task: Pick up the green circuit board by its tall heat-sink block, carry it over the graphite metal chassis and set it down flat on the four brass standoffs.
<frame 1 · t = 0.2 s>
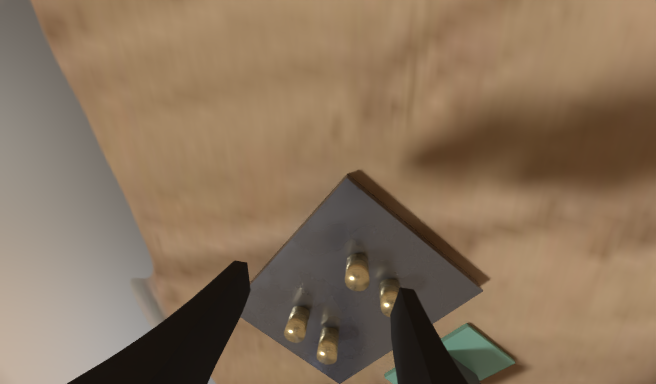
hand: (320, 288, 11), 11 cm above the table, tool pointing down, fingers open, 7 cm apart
chassis: (343, 291, 24), on the table
board: (443, 363, 27), on the table
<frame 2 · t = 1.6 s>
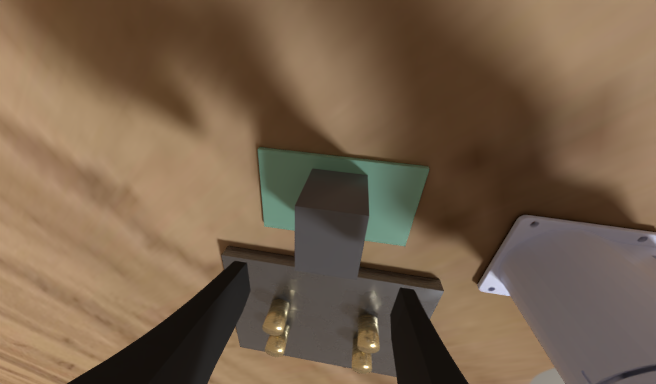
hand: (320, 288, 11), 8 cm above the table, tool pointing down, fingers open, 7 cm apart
chassis: (324, 313, 26), on the table
board: (337, 195, 19), on the table
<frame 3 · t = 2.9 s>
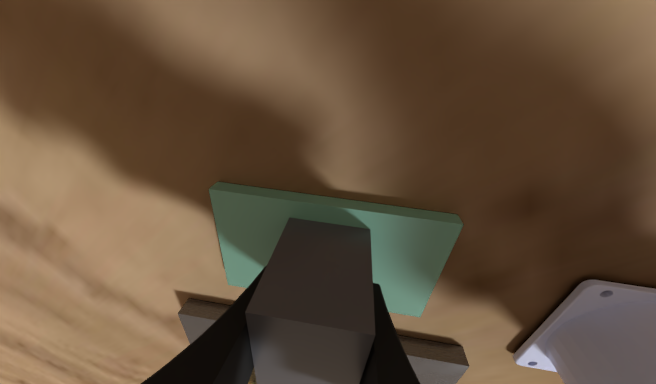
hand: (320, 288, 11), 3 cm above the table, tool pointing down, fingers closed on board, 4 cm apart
chassis: (314, 373, 21), on the table
board: (327, 249, 13), on the table, touching gripper
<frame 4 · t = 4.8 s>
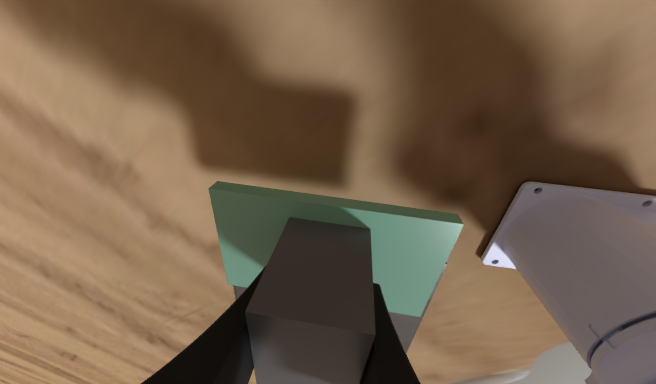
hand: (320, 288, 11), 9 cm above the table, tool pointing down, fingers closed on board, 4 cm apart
chassis: (327, 293, 26), on the table
board: (327, 249, 13), point 7 cm above the table, touching gripper
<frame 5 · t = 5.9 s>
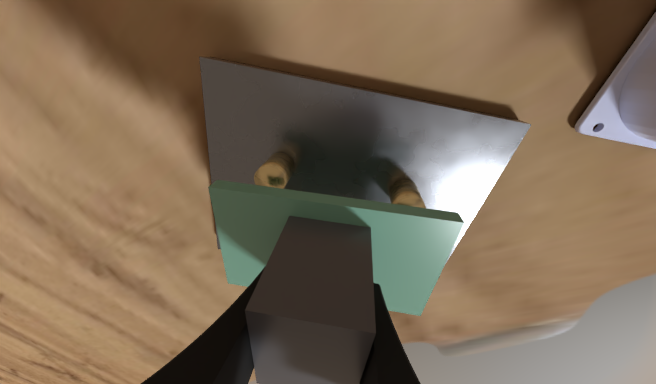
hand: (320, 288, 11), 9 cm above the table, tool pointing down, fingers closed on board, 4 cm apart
chassis: (338, 193, 19), on the table
board: (327, 247, 13), point 6 cm above the table, touching gripper
when the fingers open (7 cm above the table, at t = 6.7 s): board stays where it is, resting on chassis.
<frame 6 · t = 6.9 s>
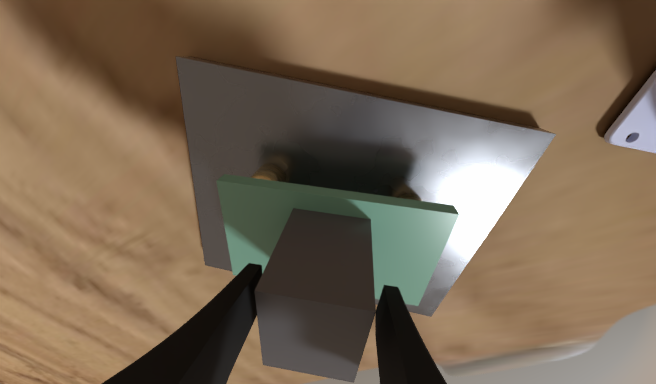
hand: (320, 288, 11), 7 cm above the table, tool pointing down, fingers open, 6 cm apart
chassis: (335, 207, 17), on the table
board: (329, 240, 14), point 4 cm above the table, touching chassis
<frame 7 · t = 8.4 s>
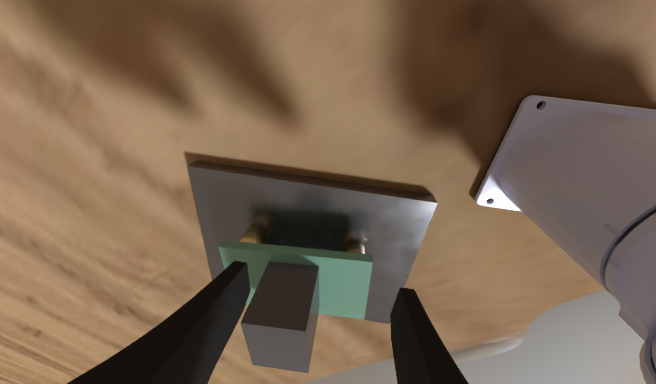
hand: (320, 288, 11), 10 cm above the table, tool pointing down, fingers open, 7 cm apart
chassis: (306, 248, 23), on the table
board: (297, 277, 20), point 4 cm above the table, touching chassis
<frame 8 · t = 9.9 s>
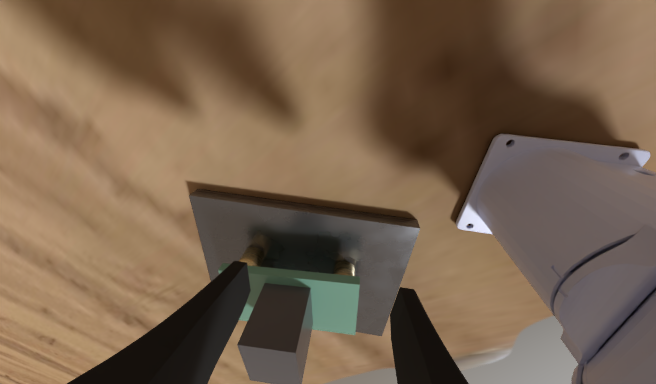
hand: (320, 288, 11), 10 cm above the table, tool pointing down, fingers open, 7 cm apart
chassis: (301, 266, 25), on the table
board: (292, 296, 21), point 4 cm above the table, touching chassis
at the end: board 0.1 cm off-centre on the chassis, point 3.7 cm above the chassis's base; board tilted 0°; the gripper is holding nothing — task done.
